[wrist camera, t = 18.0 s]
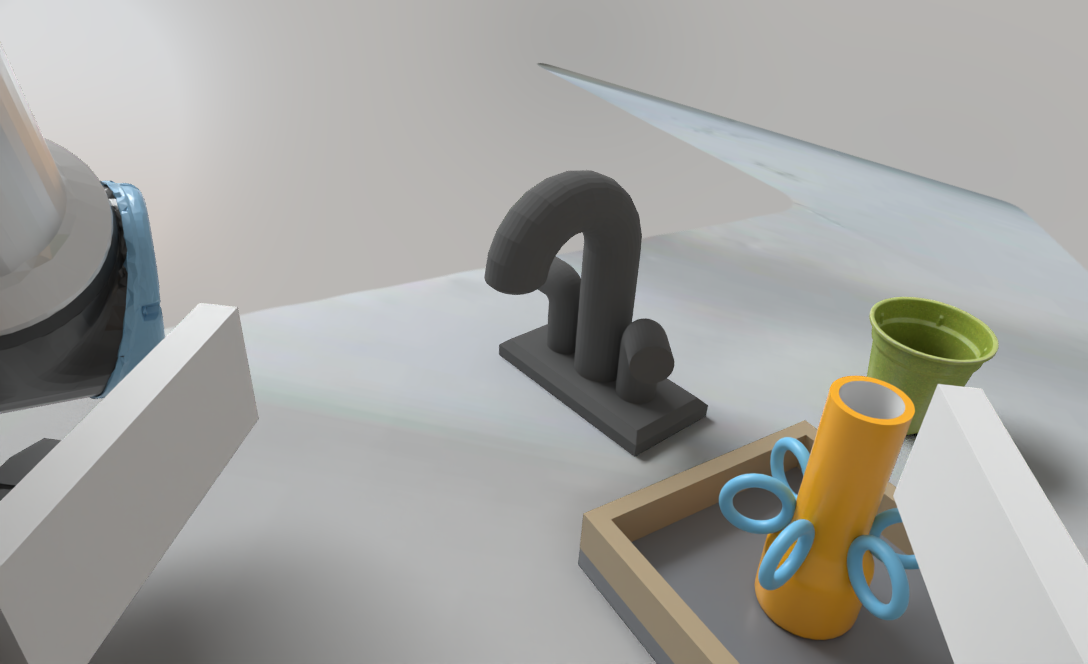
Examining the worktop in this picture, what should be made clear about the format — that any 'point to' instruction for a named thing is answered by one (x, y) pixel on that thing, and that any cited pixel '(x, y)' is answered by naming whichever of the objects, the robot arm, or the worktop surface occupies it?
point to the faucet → (589, 310)
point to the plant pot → (926, 348)
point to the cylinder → (832, 515)
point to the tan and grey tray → (734, 573)
